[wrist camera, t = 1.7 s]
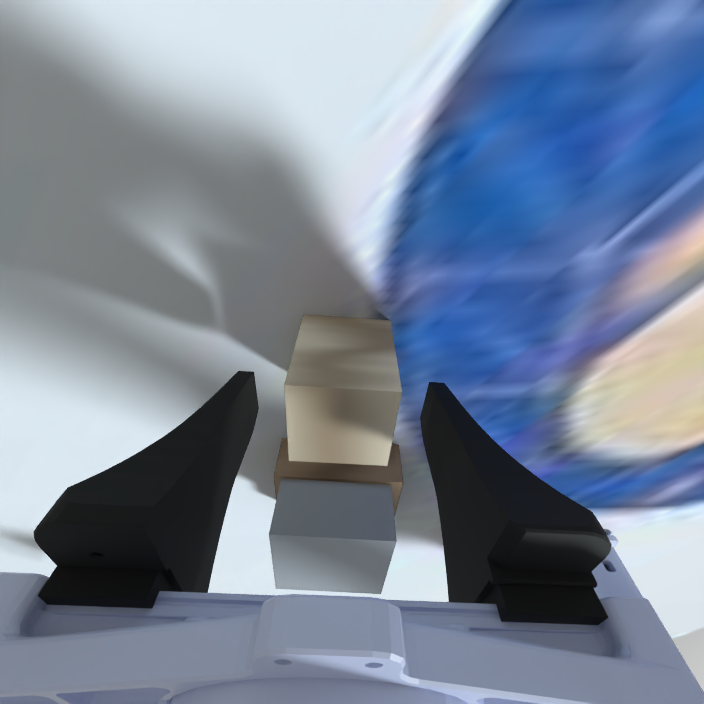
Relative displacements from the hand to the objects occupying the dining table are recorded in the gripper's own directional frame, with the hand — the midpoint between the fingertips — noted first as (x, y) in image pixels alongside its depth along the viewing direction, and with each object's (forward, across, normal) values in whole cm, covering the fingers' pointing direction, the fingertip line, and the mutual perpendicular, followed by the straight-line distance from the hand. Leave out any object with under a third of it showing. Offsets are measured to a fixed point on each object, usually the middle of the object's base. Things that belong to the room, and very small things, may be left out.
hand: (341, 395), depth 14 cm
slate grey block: (0, 0, +10) cm, 10 cm away
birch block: (+3, 0, 0) cm, 3 cm away
